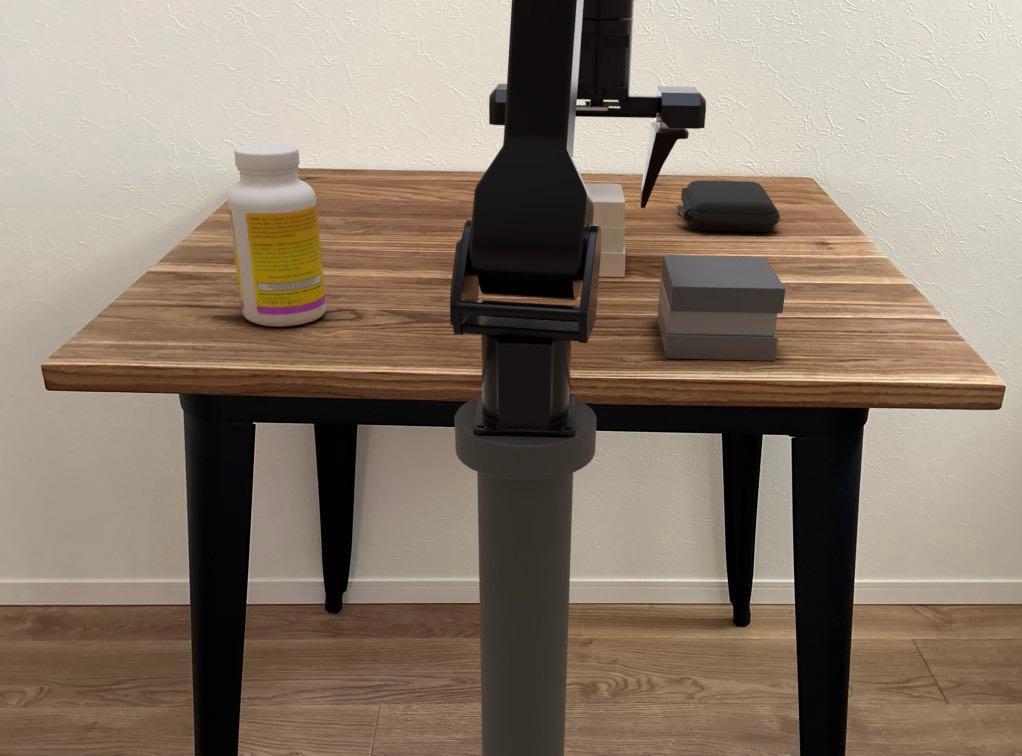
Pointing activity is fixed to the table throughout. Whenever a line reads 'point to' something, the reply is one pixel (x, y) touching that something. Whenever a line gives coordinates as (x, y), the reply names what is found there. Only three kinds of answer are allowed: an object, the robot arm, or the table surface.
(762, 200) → the carrying case
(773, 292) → the grey lidded box
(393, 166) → the table surface
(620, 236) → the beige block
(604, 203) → the beige rectangular block
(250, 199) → the supplement bottle
